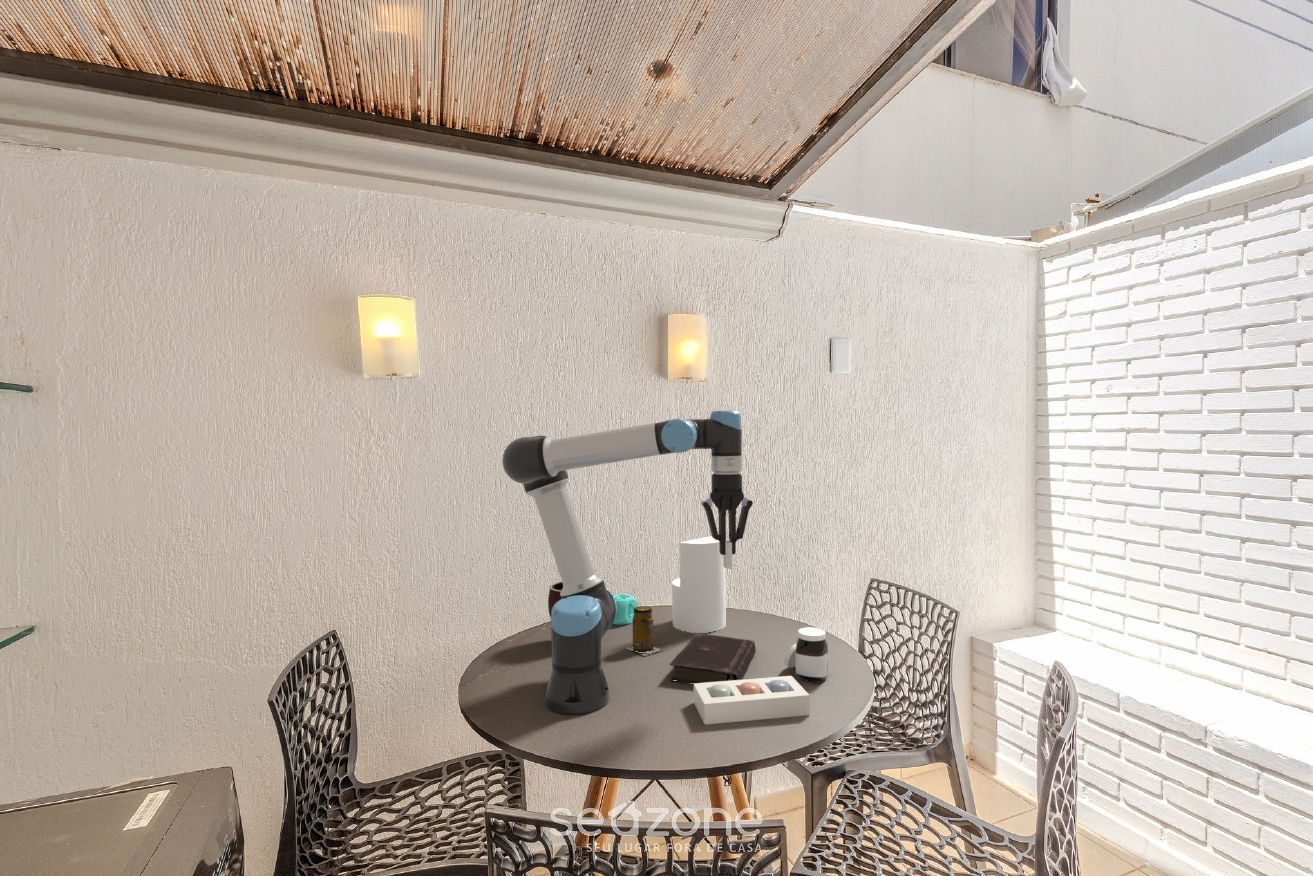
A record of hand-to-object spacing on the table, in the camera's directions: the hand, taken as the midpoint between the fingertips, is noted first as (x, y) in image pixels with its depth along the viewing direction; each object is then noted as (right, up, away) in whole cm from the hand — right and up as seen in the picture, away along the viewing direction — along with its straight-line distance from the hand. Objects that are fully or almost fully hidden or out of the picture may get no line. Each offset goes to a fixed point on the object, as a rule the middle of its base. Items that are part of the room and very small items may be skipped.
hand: (727, 567), depth 157 cm
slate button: (+11, -28, -12) cm, 32 cm away
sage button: (-3, -28, -14) cm, 31 cm away
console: (+4, -30, -13) cm, 33 cm away
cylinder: (-4, -29, +48) cm, 56 cm away
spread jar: (+21, -29, +7) cm, 37 cm away
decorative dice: (-29, -29, +53) cm, 67 cm away
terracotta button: (+4, -28, -13) cm, 31 cm away
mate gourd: (-43, -30, +34) cm, 62 cm away
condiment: (-21, -29, +26) cm, 44 cm away
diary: (-2, -30, +12) cm, 32 cm away
